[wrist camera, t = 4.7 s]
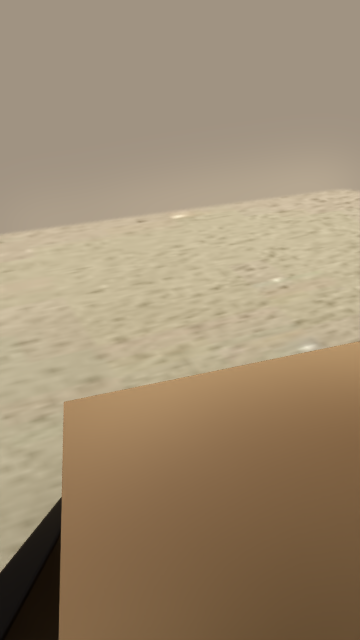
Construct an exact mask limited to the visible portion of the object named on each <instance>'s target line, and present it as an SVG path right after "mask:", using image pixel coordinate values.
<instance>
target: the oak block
mask: <svg viewBox="0 0 360 640" xmlns="http://www.w3.org/2000/svg"><path fill="white" fill-rule="evenodd" d="M59 640H360V341H359V342H354V343H349V344H344V345H340V346H335V347H330V348H325V349H320V350H315V351H310V352H305V353H301V354H296V355H291V356H286V357H281V358H276V359H271V360H266V361H261V362H257V363H252V364H247V365H242V366H237V367H232V368H227V369H222V370H218V371H213V372H208V373H203V374H198V375H193V376H188V377H183V378H178V379H174V380H169V381H164V382H159V383H154V384H149V385H144V386H139V387H135V388H130V389H125V390H120V391H115V392H110V393H105V394H100V395H95V396H91V397H86V398H81V399H76V400H71V401H66V402H64V422H63V467H62V513H61V558H60V604H59Z"/></svg>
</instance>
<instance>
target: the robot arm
mask: <svg viewBox="0 0 360 640" xmlns="http://www.w3.org/2000/svg"><path fill="white" fill-rule="evenodd" d="M61 513H62V497H61V498H60V499H59V501H58V502H57V503H56V504H55V506H54V507H53V508H52V509H51V511H50V512H49V513H48V514H47V516H46V517H45V518H44V519H43V520H42V522H41V523H40V524H39V525H38V527H37V528H36V529H35V530H34V532H33V533H32V534H31V535H30V537H29V538H28V539H27V540H26V542H25V543H24V544H23V545H22V546H21V548H20V549H19V550H18V551H17V553H16V554H15V555H14V556H13V558H12V559H11V560H10V561H9V563H8V564H7V565H6V566H5V568H4V569H3V570H2V571H1V572H0V640H59V604H60V558H61Z"/></svg>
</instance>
